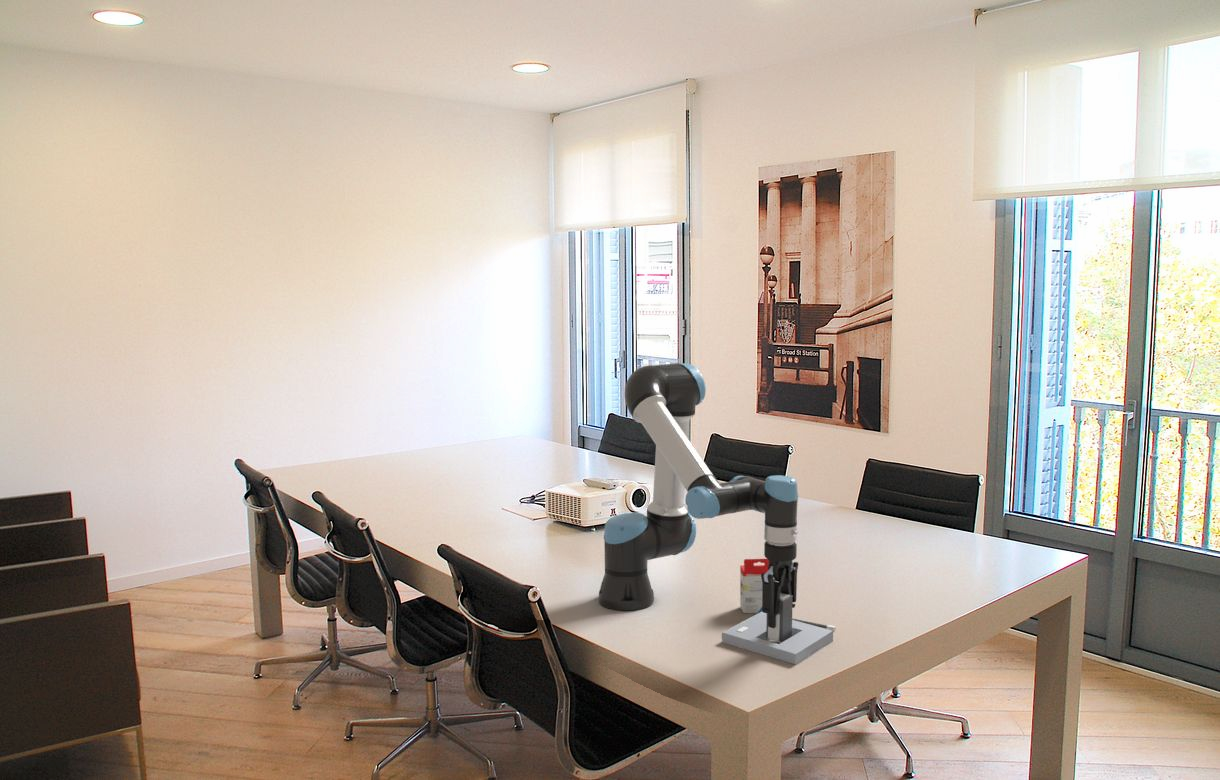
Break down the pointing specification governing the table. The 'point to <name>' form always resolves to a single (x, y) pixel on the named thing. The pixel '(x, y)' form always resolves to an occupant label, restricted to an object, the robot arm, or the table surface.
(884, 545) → the table surface
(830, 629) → the cable
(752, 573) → the ink box
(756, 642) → the plate
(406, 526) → the table surface
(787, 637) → the charger plug
